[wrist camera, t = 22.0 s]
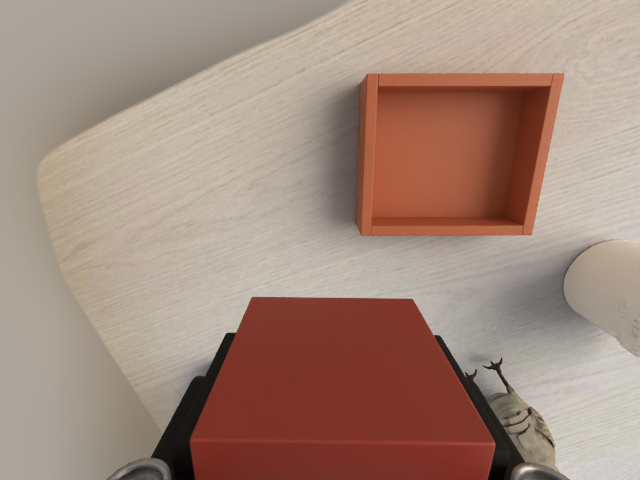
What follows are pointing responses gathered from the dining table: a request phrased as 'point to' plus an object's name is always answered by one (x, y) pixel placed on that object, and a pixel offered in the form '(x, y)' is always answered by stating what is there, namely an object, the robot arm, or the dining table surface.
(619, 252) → the mug
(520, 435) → the decorative bird
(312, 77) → the dining table surface
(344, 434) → the red block
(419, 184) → the terracotta tray
